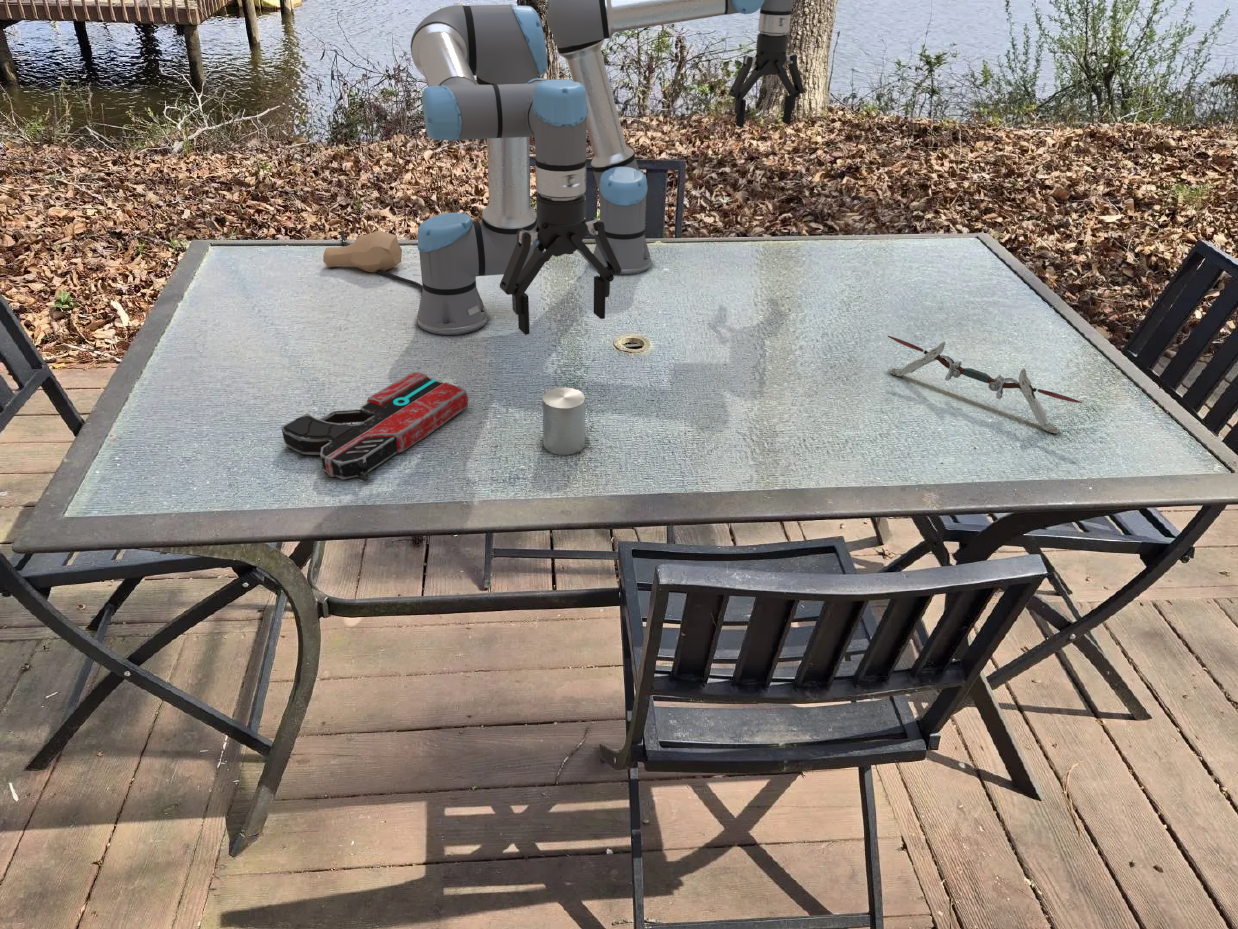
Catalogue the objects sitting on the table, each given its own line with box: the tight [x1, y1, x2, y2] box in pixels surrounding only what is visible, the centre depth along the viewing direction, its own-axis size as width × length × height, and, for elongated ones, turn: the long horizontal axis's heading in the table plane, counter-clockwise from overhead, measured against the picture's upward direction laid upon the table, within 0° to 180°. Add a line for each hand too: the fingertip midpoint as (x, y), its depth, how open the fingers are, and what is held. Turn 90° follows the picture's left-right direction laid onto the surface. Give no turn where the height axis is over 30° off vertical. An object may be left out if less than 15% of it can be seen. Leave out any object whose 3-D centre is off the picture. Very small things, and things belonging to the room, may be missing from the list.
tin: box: [541, 386, 586, 456], centre depth 153 cm, size 7×7×9 cm
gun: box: [280, 371, 469, 481], centre depth 156 cm, size 4×31×19 cm
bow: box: [887, 335, 1083, 434], centre depth 169 cm, size 39×2×10 cm, turn 47°
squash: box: [322, 230, 403, 273], centre depth 220 cm, size 11×20×9 cm, turn 90°
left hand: (562, 323), depth 143 cm, fingers open, 13 cm apart
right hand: (763, 124), depth 224 cm, fingers open, 13 cm apart
